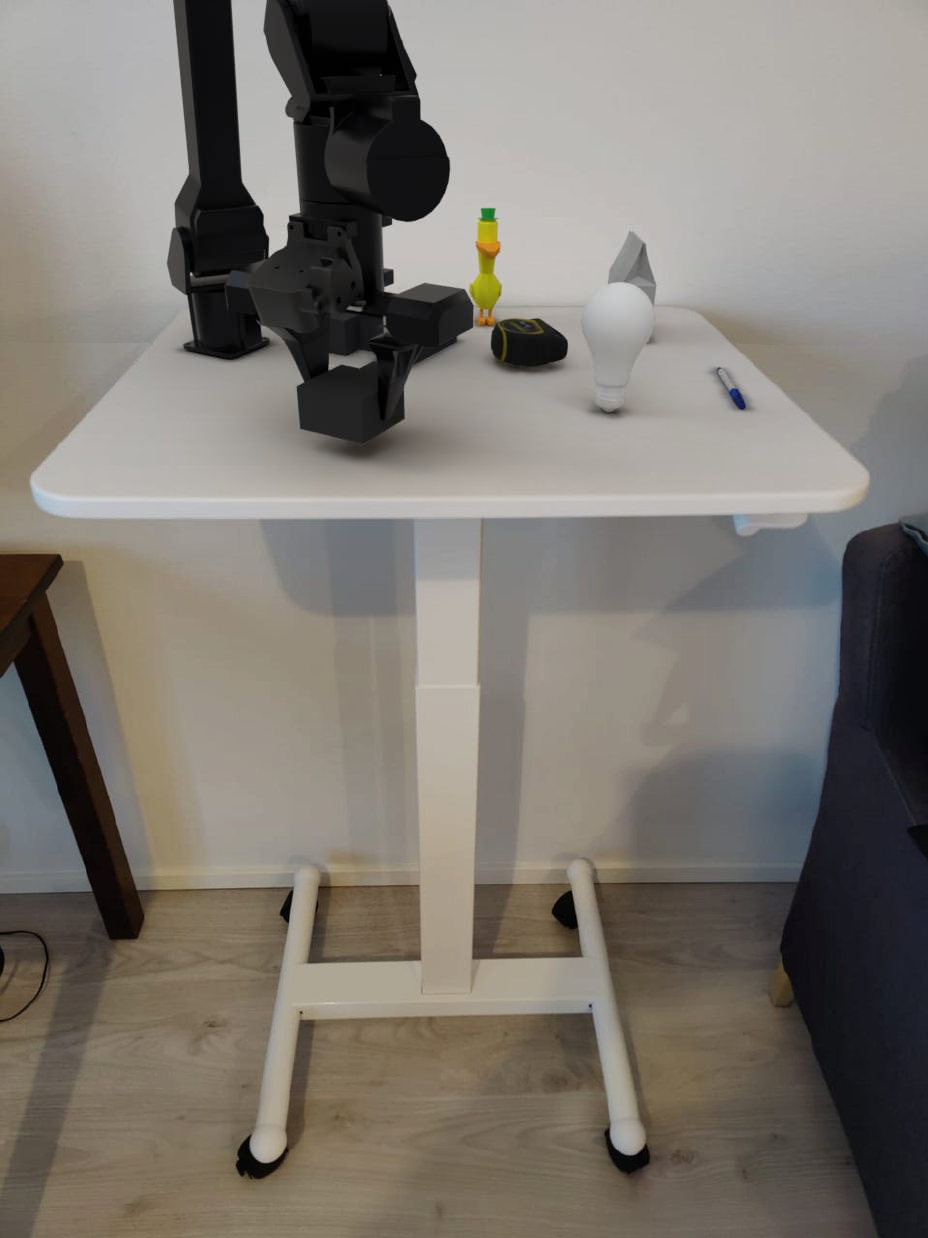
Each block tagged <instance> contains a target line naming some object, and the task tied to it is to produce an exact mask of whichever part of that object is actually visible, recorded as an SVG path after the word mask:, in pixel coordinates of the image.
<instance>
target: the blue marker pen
mask: <svg viewBox="0 0 928 1238" xmlns="http://www.w3.org/2000/svg"><path fill="white" fill-rule="evenodd" d="M716 371H717V374H718V376H719V378H720V379H721V381H722V382H723V383H724V384H723V385H724V386H725V387H726V389H727V390H728V393H729V395H730V397H731V398H732V400H733V401H734V403H735V405H736V406H737V408H738V409H739V410H745V409H746V408H747V405H746V402H745V399H744V397H743V395H742V393H741V392H740V390H739V388H736V386H735V385H734V384H733V382H732V381H731V379H730V378H729V376H728V375H727V373H726V371H725V369H724V368H722V367H721V366H718V367H717V370H716Z"/></svg>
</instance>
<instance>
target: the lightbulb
mask: <svg viewBox="0 0 928 1238" xmlns="http://www.w3.org/2000/svg"><path fill="white" fill-rule="evenodd" d="M654 308H655V307H654ZM654 308H653V305H652V303H651V301H650V299H649V297H648V296H647V295H646V293H645V292H643V291H642V290H641V289H640V288H638V287H636V286H635V285H633V284H629V283H625V282H616V283H610V284H608V283H607V284H604V285H603V286H601V287H600V288H598V289H596V290H595V291H594V292H593V293H592V294H591V296H590V297H589V298H588V299H587V301H586V303H585V304H584V307H583V309H582V313H581V319H580V322H581V323H580V324H581V325H580V326H581V331H582V334H583V337H584V340H585V342H586V343H585V344H586V345H587V347H588V349H589V351H590V354H591V358H592V359H591V360H592V364H593V381H594V382H595V389H594V390H595V393H594V402H595V404H596V406H597V407H599V408H601V409H602V411H604V412H606V413H611V412H612V413H613V412H614V411H615V410H616V409H619V408H620V409H621V407H623V405H624V402H625V399H626V390H627V386H628V384H629V383H630V381H631V375H632V371H633V368H634V365H635V363H636V360H637V358H638V357H639V355H640V353H641V352H642V351H643V349H644V348H645V347H646V345H647V344H648V343H647V341H648V340H649V338H650V339H651V337H652V335H653V332H654V328H655V323H656V315H655V309H654Z"/></svg>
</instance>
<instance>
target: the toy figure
mask: <svg viewBox="0 0 928 1238" xmlns="http://www.w3.org/2000/svg"><path fill="white" fill-rule="evenodd" d="M496 209H497V208H496V207H481V208H480V213H481V217H478V221H477V238H476V239H477V240H476V241H475V248H476V250H477V258H478V259H477V260H478V267H479V273H478V275H477V276H476V278H475V279H474V281H473V282H472V283H469V289H468V290H469V297H470V298H471V297H472V300H473V301H474V303H475V305H476V306H477V308H478V309H479V317H477V325H478V326H480V327H483V326H486V325H488V326H490V327H491V326H492V327H494V326H495V325H496V318H495V317H493V309H494V307H495V305H496V304H497V302H499V299H500V297H501V296H502V292H503V291H502V290H503V288H502V287H503V284H502V283H501V282H500V281H499V279H498V278H497V276H496V274H495V273H494V272H495V264H496V257H498V255H499V254H500V252H501V246H502V245H501V242H500V241H499V240H498V235H499V234H498V233H499V232H498V231H499V222H498V221H497V220H499V218H498V217H495V215H496ZM484 311H487V317H485V316H484Z"/></svg>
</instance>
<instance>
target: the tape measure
mask: <svg viewBox="0 0 928 1238" xmlns="http://www.w3.org/2000/svg"><path fill="white" fill-rule="evenodd" d="M568 350H569V341H568V339H567V338H566V337H565V335H564V334H563V333H561V332H560V331H559V330H557V329H555V328H554V327H553V326H551V325H550V324H549V323H547V322H545V320H543V319H542V318H540V317H535V318H530V319H528V318H527V319H526V318H518V317H517V318H515V317H513V318H507V319H502V320H500V321H498V322H497V323H495V324H494V326H493V329H492V330H491V335H490V351H492V352H491V353H492V355H493V357H494V358H496V359H497V360H498V361H499V362H502V363H504V364H507V365H510V366H513V368H520V367H526V368H529V367H532V368H533V367H540V366H545V365H549V364H553V363H557V362H561V361H562V360H565V358H566V357H567V356H568Z"/></svg>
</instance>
